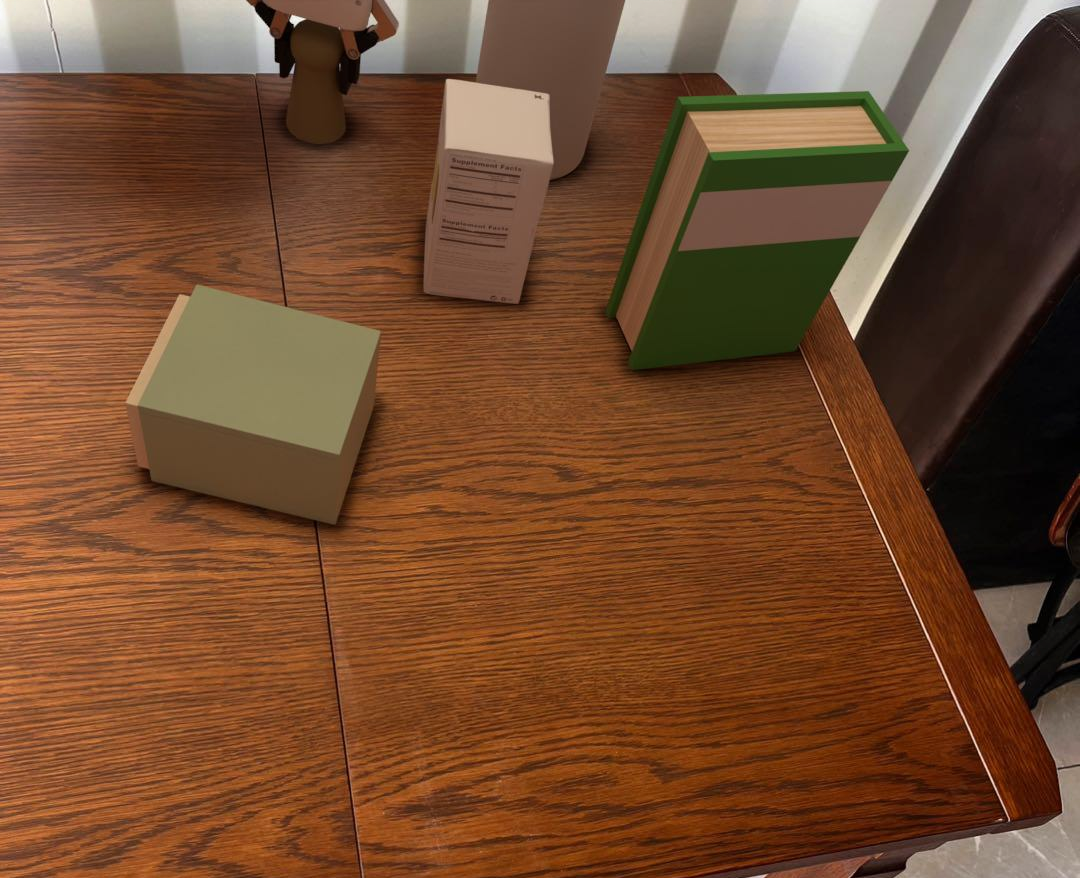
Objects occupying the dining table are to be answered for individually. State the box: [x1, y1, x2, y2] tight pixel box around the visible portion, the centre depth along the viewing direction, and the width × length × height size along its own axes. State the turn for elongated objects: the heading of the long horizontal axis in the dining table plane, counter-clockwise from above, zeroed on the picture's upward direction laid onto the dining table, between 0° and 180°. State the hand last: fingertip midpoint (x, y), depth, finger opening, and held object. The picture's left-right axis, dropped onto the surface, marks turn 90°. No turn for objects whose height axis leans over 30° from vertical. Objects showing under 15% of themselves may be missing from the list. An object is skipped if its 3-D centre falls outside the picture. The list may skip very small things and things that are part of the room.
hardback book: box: [605, 90, 910, 371], centre depth 95 cm, size 18×7×24 cm, turn 108°
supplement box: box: [423, 78, 554, 305], centre depth 97 cm, size 10×9×17 cm
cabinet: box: [138, 283, 382, 525], centre depth 85 cm, size 15×13×10 cm
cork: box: [285, 19, 347, 145], centre depth 106 cm, size 6×6×11 cm
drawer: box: [125, 293, 191, 470], centre depth 85 cm, size 15×11×8 cm
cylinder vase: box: [475, 0, 626, 181], centre depth 105 cm, size 12×12×25 cm
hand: (317, 76), depth 106 cm, fingers closed on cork, 5 cm apart
